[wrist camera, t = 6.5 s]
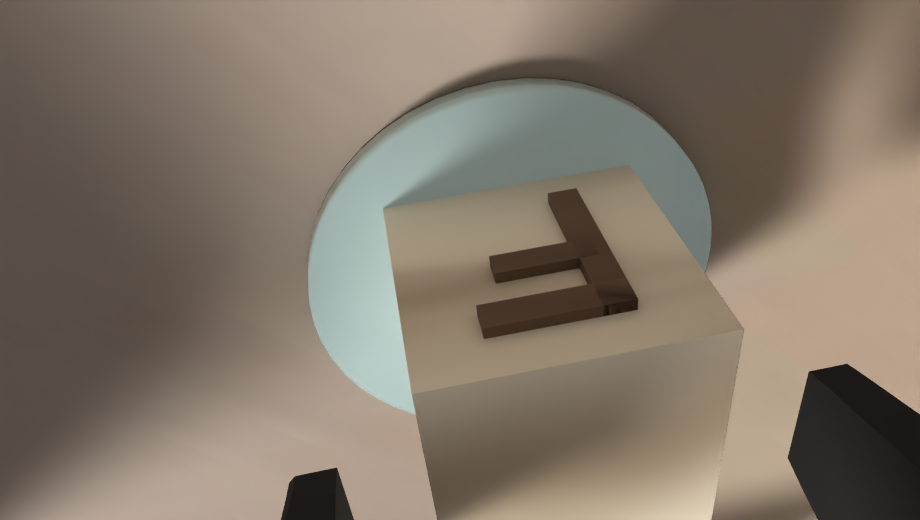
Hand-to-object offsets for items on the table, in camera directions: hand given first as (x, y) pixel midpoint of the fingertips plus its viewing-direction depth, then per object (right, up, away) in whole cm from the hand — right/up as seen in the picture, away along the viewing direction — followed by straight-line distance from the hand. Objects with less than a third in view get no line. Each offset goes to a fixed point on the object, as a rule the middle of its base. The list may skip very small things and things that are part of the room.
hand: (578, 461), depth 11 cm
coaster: (-1, +3, +4) cm, 5 cm away
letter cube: (-1, +3, +3) cm, 4 cm away
